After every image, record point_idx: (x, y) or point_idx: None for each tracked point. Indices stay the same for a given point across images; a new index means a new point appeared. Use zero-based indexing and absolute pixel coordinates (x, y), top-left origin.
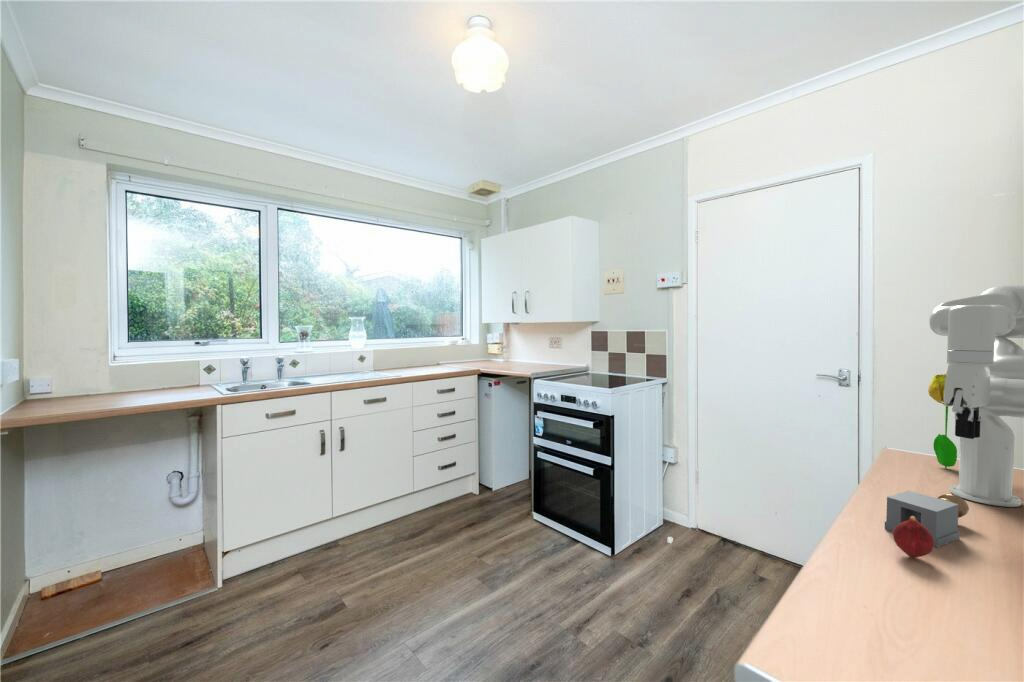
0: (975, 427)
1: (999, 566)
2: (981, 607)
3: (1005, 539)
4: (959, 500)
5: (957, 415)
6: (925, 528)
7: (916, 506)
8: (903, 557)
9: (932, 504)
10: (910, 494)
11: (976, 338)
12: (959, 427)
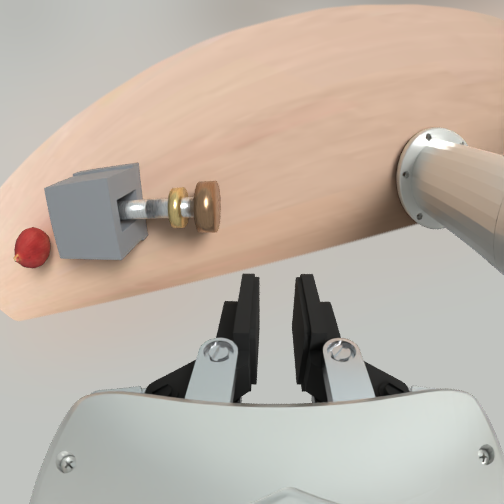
0: (296, 353)
1: (113, 288)
2: (39, 299)
3: (216, 266)
4: (197, 228)
5: (172, 376)
6: (26, 266)
7: (54, 231)
8: None
9: (79, 240)
10: (88, 194)
11: None
12: (221, 321)
